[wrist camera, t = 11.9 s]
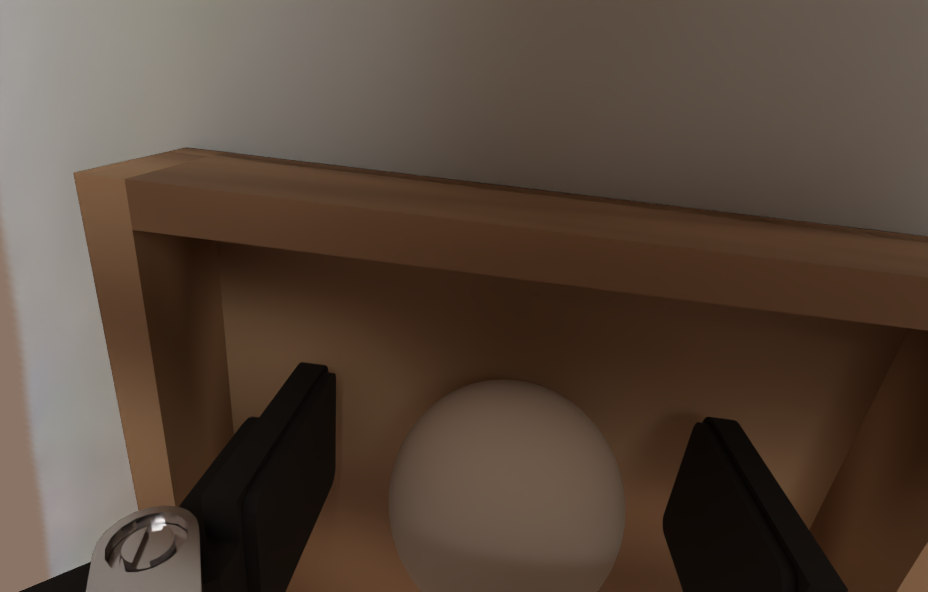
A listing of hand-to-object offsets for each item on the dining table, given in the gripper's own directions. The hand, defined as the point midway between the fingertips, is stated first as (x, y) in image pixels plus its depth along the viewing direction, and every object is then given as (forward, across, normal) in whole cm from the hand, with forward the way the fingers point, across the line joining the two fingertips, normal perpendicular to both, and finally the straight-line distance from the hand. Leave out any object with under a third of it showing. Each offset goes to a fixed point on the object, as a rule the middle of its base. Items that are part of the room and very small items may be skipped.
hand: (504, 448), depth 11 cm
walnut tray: (+1, 0, +3) cm, 4 cm away
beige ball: (+1, 0, 0) cm, 1 cm away
